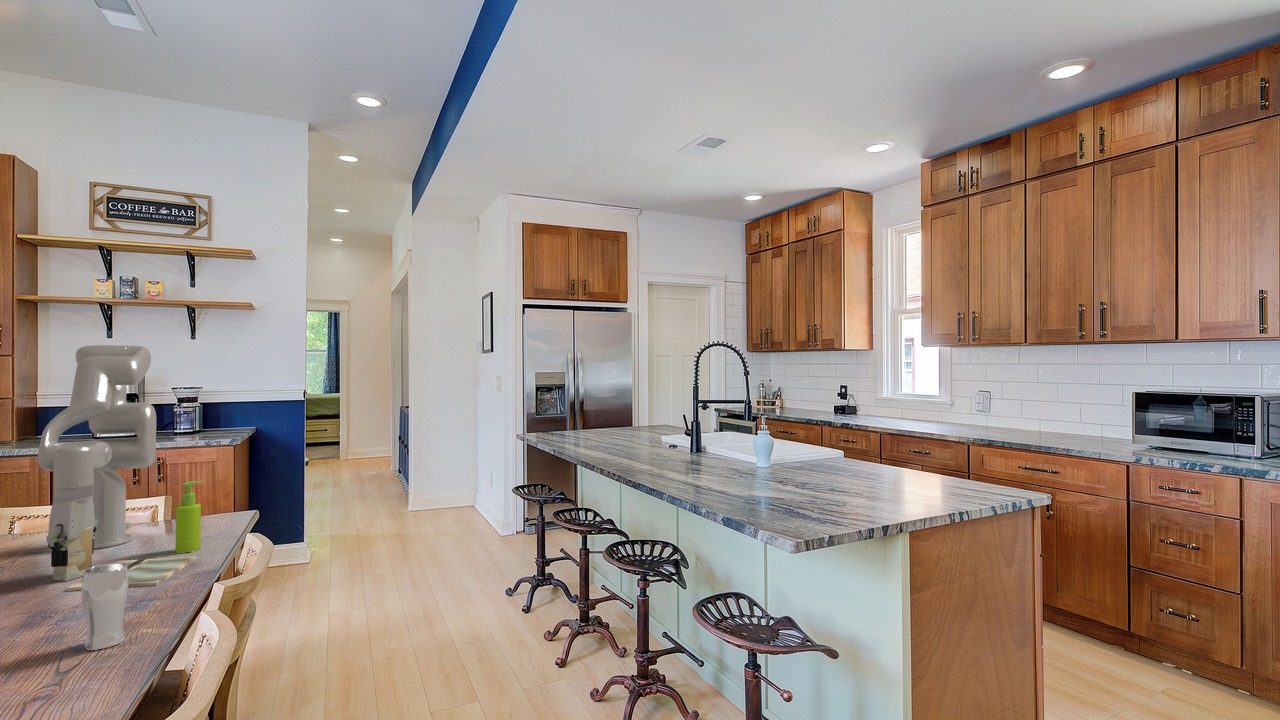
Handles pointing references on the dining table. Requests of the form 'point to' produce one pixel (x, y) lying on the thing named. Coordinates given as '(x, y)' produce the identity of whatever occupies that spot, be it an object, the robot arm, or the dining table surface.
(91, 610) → the beer glass
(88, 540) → the skincare box
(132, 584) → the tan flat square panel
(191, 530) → the soap dispenser
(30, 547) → the dining table surface
